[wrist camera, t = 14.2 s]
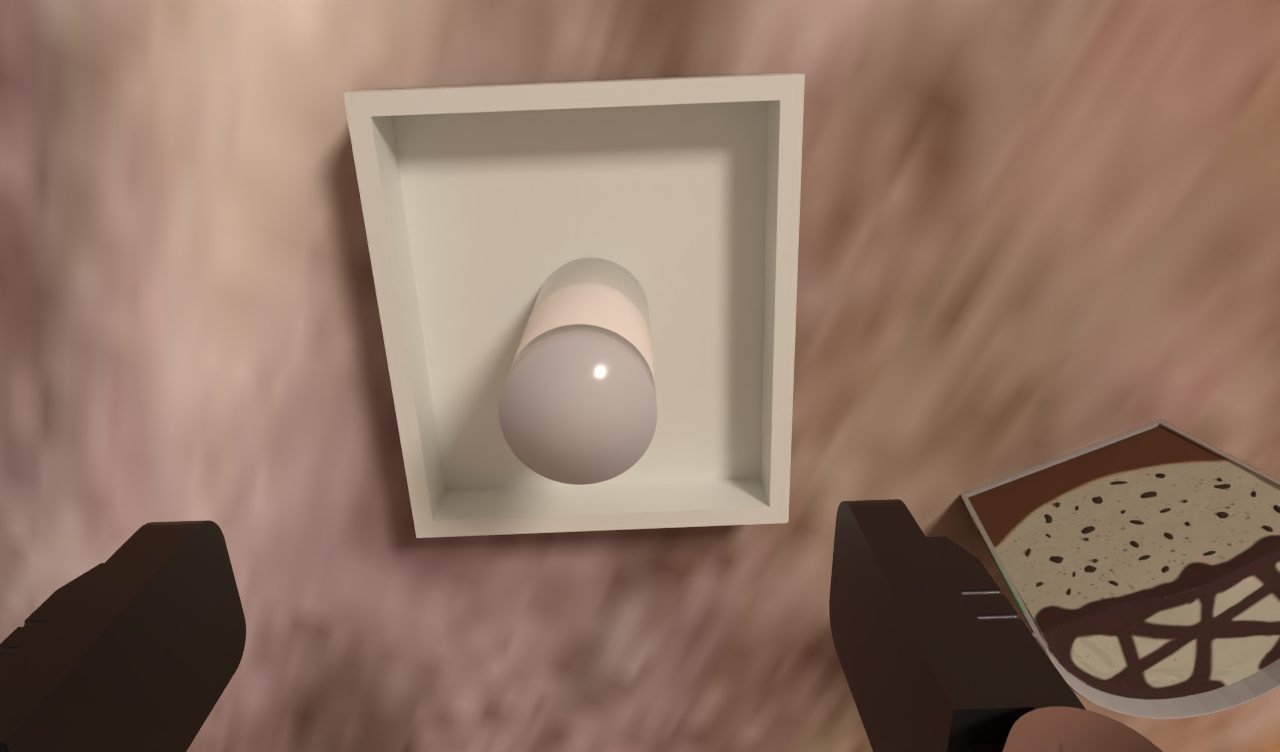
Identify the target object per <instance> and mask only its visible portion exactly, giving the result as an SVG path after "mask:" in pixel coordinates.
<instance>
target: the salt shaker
mask: <svg viewBox="0 0 1280 752" xmlns="http://www.w3.org/2000/svg"><path fill="white" fill-rule="evenodd" d="M499 419H500V425H501V429H502V432H503V435H504V438H505V440H506V442H507V444H508V446H509V447H510V449H511V450H512V452H513V453H514V454H515V455H516V457H517V458H518V459H519V460H520V461H521V462H522V463H523V464H524V465H526V466H527V467H528V468H529V469H531V470H532V471H534V472H535V473H537V474H539V475H541V476H543V477H545V478H548V479H550V480H553V481H557V482H561V483H565V484H573V485H586V484H594V483H599V482H603V481H606V480H609V479H612V478H614V477H616V476H618V475H620V474H622V473H624V472H625V471H627V470H628V469H630V468H631V467H632V466H633V465H634V464H635V463H637V462H638V460H639V459H640V458H641V457H642V456H643V455H644V453H645V452H646V450H647V449H648V447H649V445H650V443H651V441H652V439H653V436H654V433H655V429H656V424H657V403H656V391H655V379H654V368H653V356H652V344H651V333H650V321H649V310H648V302H647V298H646V295H645V292H644V290H643V288H642V286H641V285H640V283H639V282H638V280H637V279H636V278H635V277H634V276H633V275H632V274H631V273H630V272H629V271H628V270H627V269H625V268H624V267H622V266H621V265H619V264H617V263H615V262H612V261H609V260H606V259H601V258H581V259H577V260H573V261H570V262H568V263H566V264H564V265H562V266H560V267H559V268H558V269H556V270H555V271H554V272H553V273H552V274H551V275H550V276H549V277H548V278H547V279H546V281H545V282H544V284H543V285H542V287H541V289H540V292H539V294H538V297H537V299H536V302H535V305H534V307H533V310H532V313H531V315H530V318H529V321H528V323H527V326H526V329H525V331H524V334H523V337H522V339H521V342H520V345H519V347H518V350H517V353H516V355H515V358H514V361H513V363H512V366H511V369H510V371H509V374H508V377H507V379H506V382H505V385H504V387H503V390H502V394H501V398H500V404H499Z"/></svg>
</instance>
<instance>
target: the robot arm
mask: <svg viewBox="0 0 1280 752" xmlns="http://www.w3.org/2000/svg"><path fill="white" fill-rule="evenodd" d="M829 610H830V623H831V631H832V636H833V641H834V645H835V648H836V652H837V654H838V657H839V660H840V662H841V665H842V668H843V671H844V673H845V676H846V679H847V681H848V684H849V687H850V690H851V692H852V695H853V698H854V701H855V703H856V706H857V709H858V711H859V714H860V717H861V720H862V722H863V725H864V728H865V730H866V733H867V736H868V739H869V741H870V744H871V747H872V750H873V752H1163V751H1162V750H1161V749H1159V748H1158V747H1157V746H1156V745H1155V744H1153V743H1152V742H1151V741H1150V740H1149V739H1147V738H1146V737H1144V736H1143V735H1141V734H1140V733H1138V732H1137V731H1135V730H1134V729H1132V728H1130V727H1128V726H1126V725H1125V724H1123V723H1121V722H1119V721H1116V720H1114V719H1112V718H1110V717H1107V716H1105V715H1102V714H1099V713H1096V712H1093V711H1088V710H1086V709H1085V708H1084V706H1083V705H1082V703H1081V702H1080V701H1079V699H1078V698H1077V696H1076V695H1075V694H1074V692H1073V691H1072V689H1071V688H1070V687H1069V685H1068V684H1067V682H1066V681H1065V680H1064V678H1063V677H1062V675H1061V674H1060V673H1059V671H1058V670H1057V668H1056V667H1055V666H1054V664H1053V663H1052V661H1051V660H1050V659H1049V657H1048V656H1047V654H1046V653H1045V652H1044V650H1043V649H1042V647H1041V646H1040V645H1039V643H1038V642H1037V640H1036V639H1035V638H1034V636H1033V635H1032V633H1031V632H1030V631H1029V629H1028V628H1027V626H1026V625H1025V624H1024V622H1023V621H1022V619H1020V620H1018V618H1017V612H1016V611H1015V610H1014V608H1013V607H1012V605H1011V604H1010V603H1009V601H1008V600H1007V598H1006V597H1005V596H1004V595H1001V594H1000V589H999V587H998V586H997V584H996V583H995V582H994V580H993V579H992V577H991V576H990V575H989V573H988V572H987V570H986V569H985V568H984V566H983V565H982V563H981V562H980V561H979V560H978V559H977V558H975V557H974V556H972V555H971V554H970V553H968V552H967V551H965V550H964V549H962V548H961V547H960V546H958V545H957V544H955V543H954V542H953V541H951V540H950V539H948V538H947V537H925V535H924V533H923V532H922V530H921V529H920V527H919V526H918V524H917V522H916V521H915V519H914V518H913V516H912V515H911V513H910V511H909V510H908V508H907V507H906V505H905V504H904V503H903V502H902V501H901V500H899V499H894V500H864V501H843V502H841V503H840V505H839V507H838V511H837V517H836V528H835V540H834V552H833V564H832V576H831V588H830V601H829ZM245 639H246V623H245V617H244V613H243V609H242V605H241V601H240V597H239V593H238V589H237V585H236V581H235V578H234V574H233V570H232V566H231V562H230V558H229V554H228V550H227V547H226V543H225V539H224V536H223V533H222V531H221V529H220V527H219V526H218V525H217V524H216V523H215V522H213V521H179V522H151V523H147V524H145V525H143V526H142V527H141V528H140V529H138V530H137V531H136V532H135V533H134V534H133V535H132V536H131V537H130V538H129V539H128V540H127V541H126V542H125V543H124V544H123V545H122V546H121V547H120V548H119V549H118V550H117V551H116V552H115V553H114V554H113V555H112V556H111V557H110V558H109V559H108V560H107V561H106V562H105V563H101V564H99V565H97V566H96V567H94V568H92V569H91V570H89V571H88V572H86V573H84V574H83V575H81V576H79V577H78V578H76V579H74V580H73V581H71V582H69V583H68V584H66V585H64V586H63V587H61V588H59V589H58V590H56V591H55V592H54V593H53V594H52V595H51V596H50V597H49V598H48V599H47V600H46V601H45V602H44V603H43V604H42V605H41V606H40V607H39V608H38V609H37V610H35V611H34V612H33V613H32V614H31V615H30V616H29V617H28V618H27V619H26V620H25V625H24V627H18V628H17V629H16V630H15V631H14V632H12V633H11V634H10V635H9V636H8V637H7V638H6V639H5V640H4V641H3V642H2V643H1V644H0V752H186V751H187V749H188V748H189V746H190V745H191V743H192V741H193V740H194V738H195V736H196V735H197V733H198V732H199V730H200V728H201V727H202V725H203V723H204V722H205V720H206V719H207V717H208V715H209V714H210V712H211V711H212V709H213V707H214V706H215V704H216V702H217V701H218V699H219V698H220V696H221V694H222V693H223V691H224V689H225V688H226V686H227V685H228V683H229V681H230V680H231V678H232V676H233V675H234V673H235V672H236V670H237V668H238V666H239V664H240V661H241V658H242V655H243V651H244V647H245Z"/></svg>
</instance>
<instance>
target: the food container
mask: <svg viewBox="0 0 1280 752" xmlns="http://www.w3.org/2000/svg"><path fill="white" fill-rule="evenodd" d="M960 495H961V497H962V499H963V501H964V504H965V506H966V508H967V510H968V512H969V514H970V516H971V518H972V520H973V522H974V524H975V526H976V527H977V529H978V531H979V533H980V535H981V537H982V539H983V540H984V542H985V544H986V546H987V548H988V550H989V552H990V554H991V555H992V557H993V559H994V561H995V563H996V565H997V567H998V569H999V570H1000V572H1001V574H1002V576H1003V578H1004V580H1005V582H1006V584H1007V585H1008V587H1009V589H1010V591H1011V593H1012V595H1013V597H1014V599H1015V600H1016V602H1017V604H1018V606H1019V608H1020V610H1021V612H1022V614H1023V615H1024V617H1025V619H1026V621H1027V623H1028V625H1029V627H1030V629H1031V630H1032V632H1033V633H1032V635H1033V636H1034V638H1035V639H1036V640H1037V642H1038V643H1039V645H1040V646H1041V647H1042V649H1043V650H1044V652H1045V653H1046V654H1047V656H1048V657H1049V659H1050V660H1051V661H1052V663H1053V664H1054V666H1055V667H1056V668H1057V670H1058V671H1059V673H1060V674H1061V675H1062V677H1063V678H1064V680H1065V681H1066V682H1067V684H1068V685H1069V687H1070V688H1071V689H1072V691H1074V692H1075V693H1077V694H1079V695H1080V696H1082V697H1085V698H1087V699H1088V700H1090V701H1092V702H1093V703H1095V704H1097V705H1099V706H1102V707H1104V708H1107V709H1109V710H1112V711H1114V712H1118V713H1122V714H1126V715H1131V716H1135V717H1143V718H1154V719H1176V718H1189V717H1195V716H1202V715H1208V714H1212V713H1216V712H1220V711H1223V710H1227V709H1231V708H1234V707H1237V706H1239V705H1242V704H1245V703H1247V702H1250V701H1252V700H1255V699H1258V698H1260V697H1261V696H1263V695H1265V694H1267V693H1269V692H1271V691H1273V690H1275V689H1277V688H1279V687H1280V480H1278V479H1276V478H1274V477H1273V476H1271V475H1269V474H1267V473H1265V472H1263V471H1261V470H1259V469H1257V468H1255V467H1253V466H1251V465H1249V464H1247V463H1245V462H1243V461H1242V460H1240V459H1238V458H1236V457H1234V456H1232V455H1230V454H1228V453H1226V452H1224V451H1222V450H1220V449H1218V448H1216V447H1214V446H1212V445H1211V444H1209V443H1207V442H1205V441H1203V440H1201V439H1199V438H1197V437H1195V436H1193V435H1191V434H1189V433H1187V432H1185V431H1183V430H1181V429H1180V428H1178V427H1176V426H1174V425H1172V424H1170V423H1168V422H1166V421H1164V420H1162V419H1160V420H1157V421H1155V422H1152V423H1149V424H1147V425H1144V426H1141V427H1139V428H1136V429H1133V430H1131V431H1128V432H1125V433H1123V434H1120V435H1117V436H1115V437H1112V438H1109V439H1107V440H1104V441H1101V442H1099V443H1096V444H1093V445H1091V446H1088V447H1085V448H1083V449H1080V450H1077V451H1075V452H1072V453H1069V454H1067V455H1064V456H1061V457H1059V458H1056V459H1053V460H1051V461H1048V462H1045V463H1043V464H1040V465H1037V466H1035V467H1032V468H1029V469H1027V470H1024V471H1021V472H1019V473H1016V474H1013V475H1011V476H1008V477H1005V478H1003V479H1000V480H997V481H995V482H992V483H989V484H987V485H984V486H981V487H979V488H976V489H973V490H971V491H968V492H965V493H963V494H960Z"/></svg>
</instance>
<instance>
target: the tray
mask: <svg viewBox="0 0 1280 752" xmlns="http://www.w3.org/2000/svg"><path fill="white" fill-rule="evenodd" d="M804 78H805V74H795V73H771V74H746V75H721V76H696V77H671V78H647V79H622V80H597V81H572V82H547V83H522V84H497V85H472V86H447V87H422V88H397V89H373V90H364V91H354V92H344V93H343V95H344V101H345V107H346V113H347V119H348V125H349V131H350V137H351V143H352V149H353V156H354V162H355V168H356V174H357V180H358V186H359V192H360V198H361V204H362V210H363V216H364V222H365V228H366V235H367V241H368V247H369V253H370V259H371V265H372V271H373V277H374V283H375V289H376V295H377V301H378V307H379V314H380V320H381V326H382V332H383V338H384V344H385V350H386V356H387V362H388V368H389V374H390V380H391V386H392V393H393V399H394V405H395V411H396V417H397V423H398V429H399V435H400V441H401V447H402V453H403V459H404V466H405V472H406V478H407V484H408V490H409V496H410V502H411V508H412V514H413V520H414V526H415V532H416V538H430V537H454V536H479V535H503V534H528V533H552V532H577V531H601V530H626V529H650V528H675V527H699V526H724V525H748V524H773V523H788V518H789V490H790V463H791V435H792V408H793V380H794V353H795V325H796V298H797V270H798V243H799V215H800V188H801V160H802V133H803V105H804ZM581 258H601V259H606V260H609V261H612V262H615V263H617V264H619V265H621V266H622V267H624V268H625V269H627V270H628V271H629V272H630V273H631V274H632V275H633V276H634V277H635V278H636V279H637V280H638V282H639V283H640V285H641V286H642V288H643V290H644V292H645V295H646V298H647V302H648V310H649V321H650V333H651V344H652V356H653V368H654V379H655V391H656V403H657V424H656V429H655V433H654V436H653V439H652V441H651V443H650V445H649V447H648V449H647V450H646V452H645V453H644V455H643V456H642V457H641V458H640V459H639V460H638V462H637V463H635V464H634V465H633V466H632V467H631V468H630V469H628V470H627V471H625V472H624V473H622V474H620V475H618V476H616V477H614V478H612V479H609V480H606V481H603V482H599V483H594V484H586V485H573V484H565V483H561V482H557V481H553V480H550V479H548V478H545V477H543V476H541V475H539V474H537V473H535V472H534V471H532V470H531V469H529V468H528V467H527V466H526V465H524V464H523V463H522V462H521V461H520V460H519V459H518V458H517V457H516V455H515V454H514V453H513V452H512V450H511V449H510V447H509V446H508V444H507V442H506V440H505V438H504V435H503V432H502V429H501V425H500V419H499V404H500V398H501V394H502V390H503V387H504V385H505V382H506V379H507V377H508V374H509V371H510V369H511V366H512V363H513V361H514V358H515V355H516V353H517V350H518V347H519V345H520V342H521V339H522V337H523V334H524V331H525V329H526V326H527V323H528V321H529V318H530V315H531V313H532V310H533V307H534V305H535V302H536V299H537V297H538V294H539V292H540V289H541V287H542V285H543V284H544V282H545V281H546V279H547V278H548V277H549V276H550V275H551V274H552V273H553V272H554V271H555V270H556V269H558V268H559V267H560V266H562V265H564V264H566V263H568V262H570V261H573V260H577V259H581Z"/></svg>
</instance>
